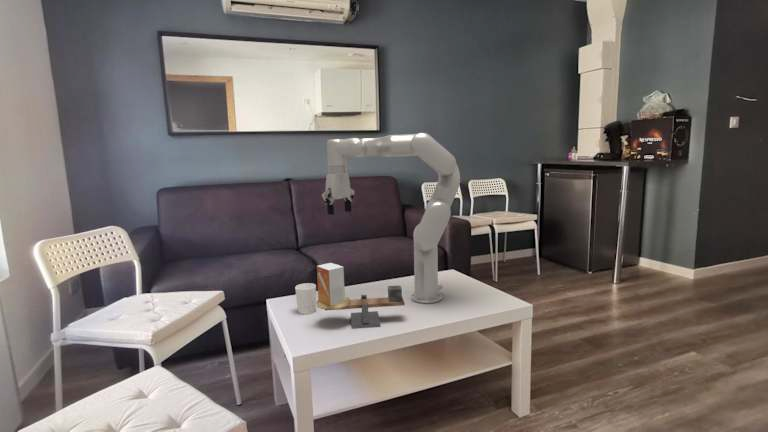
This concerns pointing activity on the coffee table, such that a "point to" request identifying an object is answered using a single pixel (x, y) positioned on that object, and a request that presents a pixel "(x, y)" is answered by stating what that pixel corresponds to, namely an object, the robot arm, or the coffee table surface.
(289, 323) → the coffee table surface
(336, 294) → the small box
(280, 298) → the coffee table surface
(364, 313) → the beam stand
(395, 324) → the coffee table surface
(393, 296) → the beam
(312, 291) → the white cup
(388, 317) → the coffee table surface
